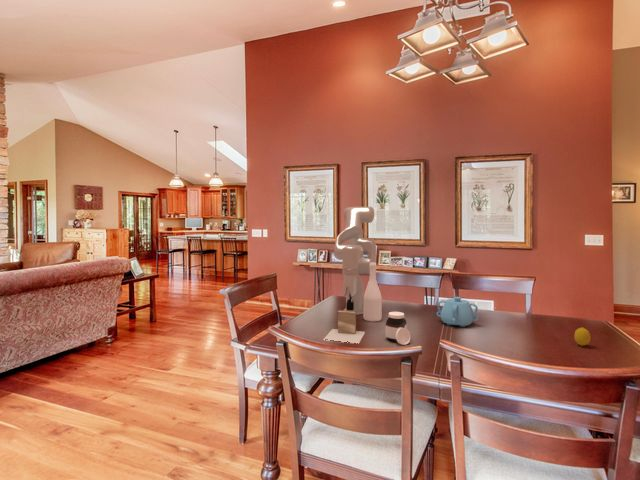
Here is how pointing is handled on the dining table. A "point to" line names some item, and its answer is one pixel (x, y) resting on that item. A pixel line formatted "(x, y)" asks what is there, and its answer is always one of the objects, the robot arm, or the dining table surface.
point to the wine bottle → (372, 298)
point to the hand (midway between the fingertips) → (350, 309)
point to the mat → (344, 336)
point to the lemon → (582, 336)
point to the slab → (346, 322)
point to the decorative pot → (457, 312)
